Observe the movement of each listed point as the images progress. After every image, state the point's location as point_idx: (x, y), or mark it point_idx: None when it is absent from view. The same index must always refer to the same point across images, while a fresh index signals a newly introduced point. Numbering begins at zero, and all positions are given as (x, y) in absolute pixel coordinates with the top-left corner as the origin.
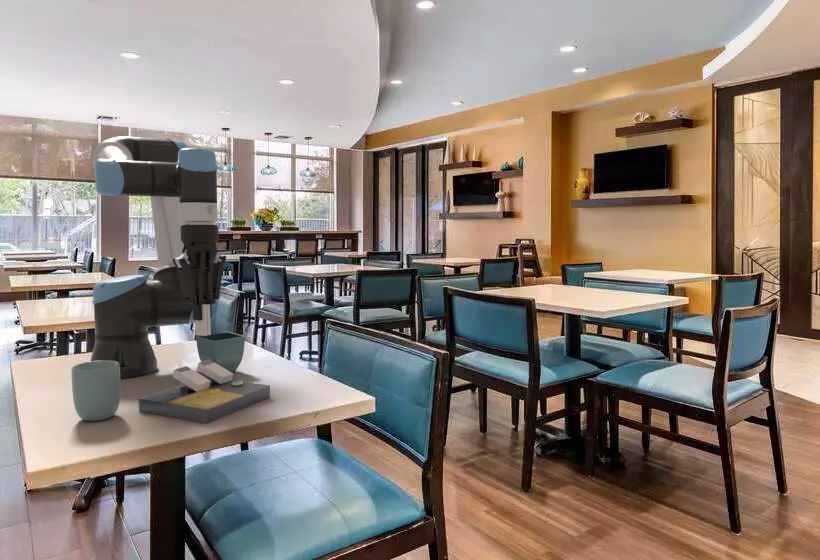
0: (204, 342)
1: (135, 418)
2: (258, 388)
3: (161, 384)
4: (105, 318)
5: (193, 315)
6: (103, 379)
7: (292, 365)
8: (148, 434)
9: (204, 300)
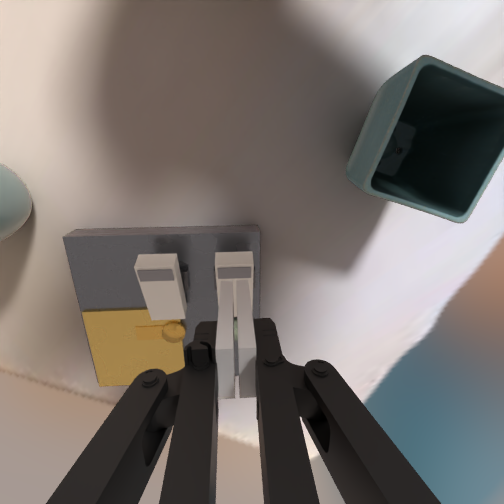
0: (383, 129)
1: (49, 257)
2: (235, 371)
3: (231, 96)
4: None
5: (194, 336)
6: None
7: (478, 254)
8: (24, 335)
9: (256, 385)
